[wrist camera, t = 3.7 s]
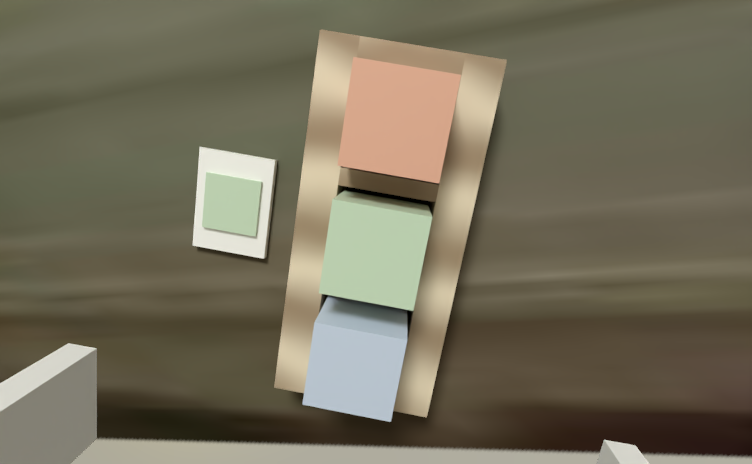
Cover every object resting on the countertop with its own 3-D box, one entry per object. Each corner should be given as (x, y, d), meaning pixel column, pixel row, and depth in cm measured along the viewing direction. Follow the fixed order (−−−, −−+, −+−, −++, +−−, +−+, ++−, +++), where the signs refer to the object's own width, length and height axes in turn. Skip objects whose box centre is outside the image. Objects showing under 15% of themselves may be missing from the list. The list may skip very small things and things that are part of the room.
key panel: (331, 44, 30) (320, 29, 26) (493, 71, 29) (507, 60, 26) (288, 360, 36) (274, 387, 32) (424, 387, 35) (426, 417, 31)
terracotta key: (362, 72, 27) (353, 56, 22) (451, 87, 27) (461, 74, 22) (349, 162, 29) (337, 165, 24) (433, 176, 28) (439, 183, 23)
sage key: (345, 190, 29) (332, 199, 24) (428, 205, 29) (432, 217, 24) (332, 269, 30) (318, 293, 25) (412, 284, 30) (413, 310, 25)
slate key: (329, 294, 31) (314, 322, 26) (407, 309, 31) (407, 340, 26) (318, 365, 32) (302, 404, 27) (393, 379, 32) (390, 422, 27)
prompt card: (203, 147, 32) (197, 147, 31) (277, 160, 32) (273, 160, 31) (196, 243, 34) (190, 246, 33) (266, 256, 34) (262, 259, 33)
